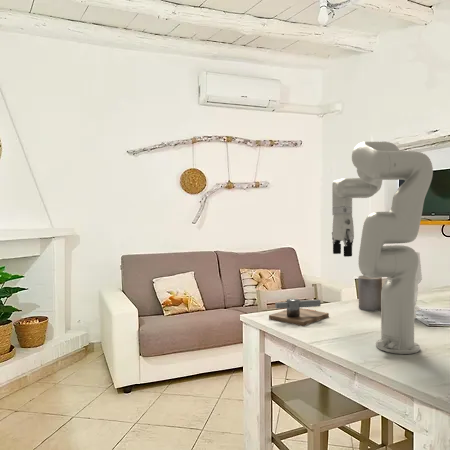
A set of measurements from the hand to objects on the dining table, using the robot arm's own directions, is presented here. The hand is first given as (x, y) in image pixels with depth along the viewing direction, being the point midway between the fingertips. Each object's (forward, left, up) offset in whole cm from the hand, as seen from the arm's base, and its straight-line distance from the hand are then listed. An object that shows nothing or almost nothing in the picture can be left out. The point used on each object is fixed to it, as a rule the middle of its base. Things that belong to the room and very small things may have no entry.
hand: (342, 255), depth 175 cm
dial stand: (-12, +12, -25) cm, 30 cm away
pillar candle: (+21, -2, -25) cm, 33 cm away
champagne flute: (+32, -16, -25) cm, 44 cm away
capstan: (-14, +11, -23) cm, 29 cm away
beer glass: (+16, -20, -25) cm, 36 cm away
